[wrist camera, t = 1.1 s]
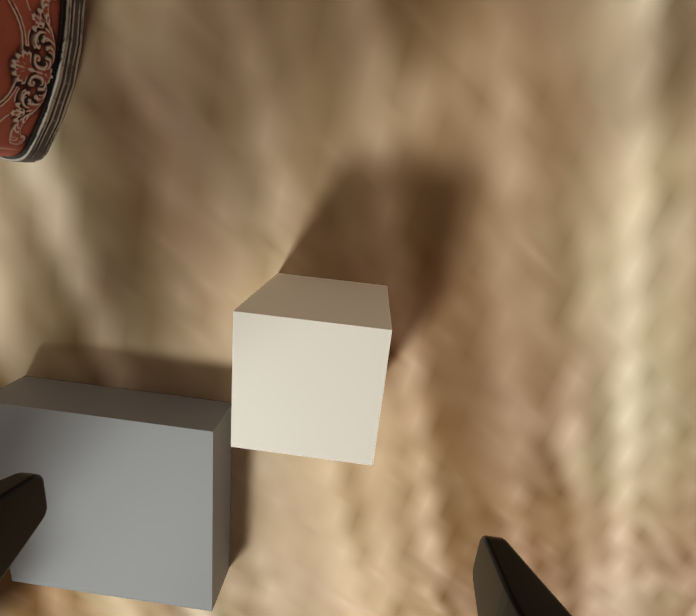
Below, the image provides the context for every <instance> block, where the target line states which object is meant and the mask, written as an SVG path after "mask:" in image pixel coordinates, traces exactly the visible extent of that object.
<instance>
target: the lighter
mask: <svg viewBox="0 0 696 616" xmlns="http://www.w3.org/2000/svg"><path fill="white" fill-rule="evenodd" d="M84 12H85V0H0V159H3V160H6V161H13V162H36V161H39V160H41V159H42V158H43V157H44V156H45V155H46V154H47V152H48V150H49V148H50V146H51V144H52V142H53V140H54V138H55V136H56V134H57V132H58V130H59V128H60V126H61V124H62V121H63V118H64V115H65V112H66V109H67V106H68V103H69V100H70V97H71V94H72V91H73V89H74V85H75V80H76V74H77V69H78V64H79V58H80V53H81V48H82V38H83V25H84Z"/></svg>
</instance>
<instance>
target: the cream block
mask: <svg viewBox="0 0 696 616" xmlns="http://www.w3.org/2000/svg"><path fill="white" fill-rule="evenodd" d="M391 335H392V324H391V315H390V306H389V296H388V287H387V285H378V284H369V283H361V282H352V281H343V280H335V279H326V278H318V277H309V276H300V275H292V274H283V273H278V274H276V275H275V276H274V277H273V278H272V279H270V280H269V281H268V282H267V283H266V284H265V285H263V286H262V287H261V288H260V289H259V290H258V291H256V292H255V293H254V294H253V295H252V296H251V297H249V298H248V299H247V300H246V301H245V302H243V303H242V304H241V305H240V306H239V307H238V308H236V309H235V310H234V311H233V353H232V406H231V447H237V448H244V449H252V450H259V451H267V452H275V453H282V454H290V455H297V456H305V457H312V458H320V459H327V460H335V461H343V462H350V463H358V464H365V465H373V461H374V454H375V447H376V440H377V433H378V426H379V419H380V412H381V405H382V398H383V391H384V384H385V377H386V370H387V363H388V356H389V349H390V342H391Z"/></svg>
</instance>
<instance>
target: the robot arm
mask: <svg viewBox="0 0 696 616" xmlns="http://www.w3.org/2000/svg"><path fill="white" fill-rule="evenodd" d="M46 511H47V500H46V493H45V486H44V480H43V478H42V476H41V475H39V474H33V473H25V472H20V473H16V474H13V475H11V476H8V477H6V478H4V479H1V480H0V580H1V579H2V577H3V576H4V574H5V573H6V571H7V570H8V569H9V567H10V566H11V564H12V563H13V561H14V560H15V559H16V557H17V556H18V554H19V553H20V552H21V550H22V549H23V547H24V546H25V544H26V543H27V542H28V540H29V539H30V537H31V536H32V534H33V533H34V532H35V530H36V529H37V527H38V526H39V524H40V523H41V522H42V520H43V518H44V516H45V514H46ZM473 583H474V590H475V598H476V605H477V612H478V616H572V615H571V614H570V613H569V612H568V611H567V610H566V608H565V607H564V606H563V605H562V604H561V603H560V602H559V600H558V599H557V598H556V597H555V596H554V595H553V594H552V592H551V591H550V590H549V589H548V588H547V587H546V586H545V585H544V583H543V582H542V581H541V580H540V579H539V578H538V577H537V575H536V574H535V573H534V572H533V571H532V570H531V569H530V567H529V566H528V565H527V564H526V563H525V562H524V561H523V560H522V558H521V557H520V556H519V555H518V554H517V553H516V552H515V550H514V549H513V548H512V547H511V546H510V545H509V544H508V542H507V541H506V540H504V539H503V538H500V537H492V536H483V537H482V538H481V539H480V542H479V546H478V550H477V554H476V558H475V562H474V566H473Z"/></svg>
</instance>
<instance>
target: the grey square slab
mask: <svg viewBox="0 0 696 616" xmlns="http://www.w3.org/2000/svg"><path fill="white" fill-rule="evenodd" d="M231 406H232V403H230V402H222V401H215V400H207V399H199V398H191V397H184V396H176V395H168V394H161V393H153V392H145V391H138V390H130V389H122V388H114V387H107V386H99V385H91V384H84V383H76V382H68V381H61V380H53V379H45V378H37V377H30V376H24V377H22V378H20V379H18V380H16V381H14V382H13V383H11V384H9V385H7V386H5V387H3V388H1V389H0V480H1V479H4V478H6V477H8V476H11V475H13V474H16V473H20V472H25V473H33V474H39V475H41V476H42V478H43V480H44V486H45V493H46V500H47V511H46V514H45V516H44V518H43V520H42V522H41V523H40V524H39V526H38V527H37V529H36V530H35V532H34V533H33V534H32V536H31V537H30V539H29V540H28V542H27V543H26V544H25V546H24V547H23V549H22V550H21V552H20V553H19V554H18V556H17V557H16V559H15V560H14V561H13V563H12V564H11V566H10V572H11V578H12V581H15V582H22V583H28V584H35V585H42V586H48V587H55V588H61V589H68V590H75V591H81V592H88V593H94V594H101V595H108V596H114V597H121V598H127V599H134V600H140V601H147V602H154V603H160V604H167V605H173V606H180V607H187V608H193V609H200V610H206V611H212V610H213V607H214V605H215V602H216V600H217V597H218V595H219V592H220V590H221V587H222V585H223V582H224V579H225V577H226V574H227V572H228V569H229V556H230V509H231V461H232V447H231Z"/></svg>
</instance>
